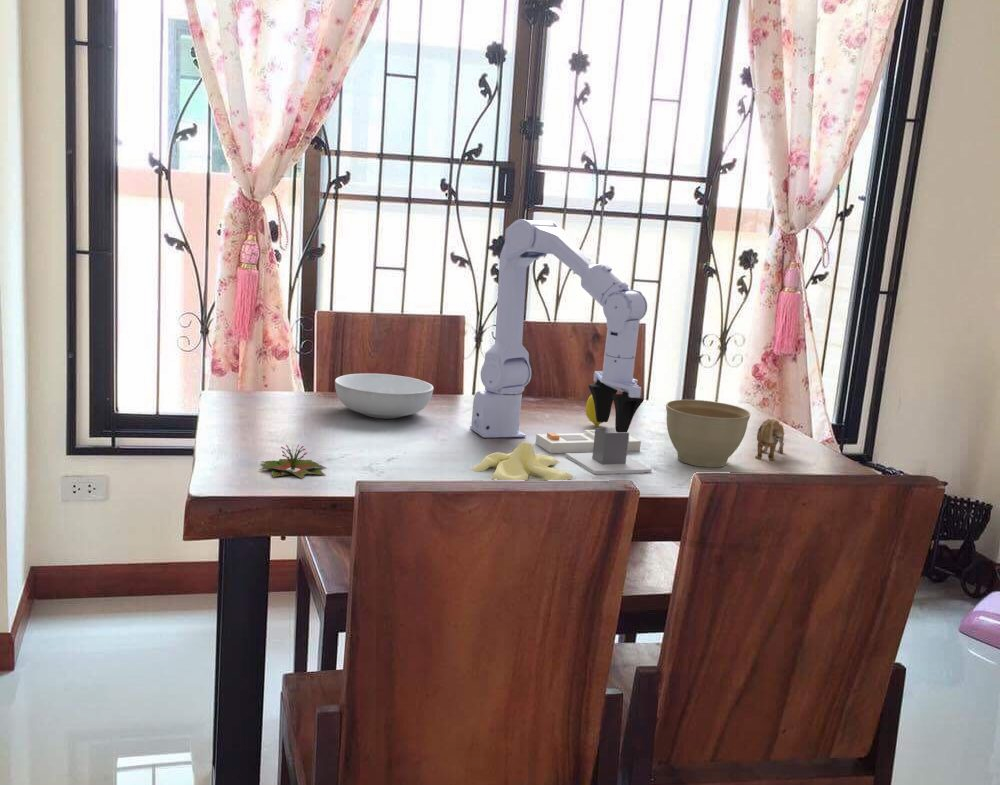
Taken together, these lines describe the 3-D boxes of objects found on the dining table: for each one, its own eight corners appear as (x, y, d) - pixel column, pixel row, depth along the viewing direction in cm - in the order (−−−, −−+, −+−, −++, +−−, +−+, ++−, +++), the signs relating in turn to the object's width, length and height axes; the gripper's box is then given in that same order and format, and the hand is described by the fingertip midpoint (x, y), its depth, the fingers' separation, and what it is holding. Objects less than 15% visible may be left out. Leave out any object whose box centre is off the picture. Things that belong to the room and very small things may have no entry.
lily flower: (318, 460, 178) (319, 435, 177) (337, 481, 167) (339, 454, 167) (249, 463, 173) (250, 437, 172) (264, 484, 162) (266, 456, 161)
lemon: (607, 430, 219) (611, 394, 217) (582, 427, 220) (586, 391, 218) (610, 424, 224) (614, 389, 223) (585, 421, 225) (589, 386, 224)
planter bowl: (685, 446, 210) (691, 395, 208) (756, 464, 200) (764, 411, 198) (644, 458, 198) (651, 404, 196) (718, 478, 188) (726, 421, 186)
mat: (594, 474, 183) (594, 471, 183) (565, 456, 194) (565, 453, 194) (651, 472, 188) (651, 469, 188) (619, 454, 199) (620, 451, 199)
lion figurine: (779, 466, 201) (785, 422, 199) (752, 462, 202) (758, 418, 201) (784, 450, 214) (790, 409, 213) (758, 446, 216) (764, 405, 214)
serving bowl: (427, 429, 206) (429, 396, 205) (325, 420, 206) (326, 387, 204) (435, 407, 226) (437, 377, 225) (342, 399, 226) (343, 369, 225)
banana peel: (546, 457, 194) (549, 426, 193) (593, 486, 178) (597, 452, 177) (438, 461, 185) (440, 428, 184) (478, 491, 169) (481, 456, 167)
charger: (602, 464, 188) (605, 433, 187) (592, 458, 192) (595, 428, 190) (626, 463, 190) (629, 432, 189) (615, 457, 194) (618, 427, 193)
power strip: (550, 453, 195) (551, 439, 195) (535, 443, 202) (536, 430, 201) (639, 450, 203) (641, 437, 203) (622, 441, 210) (624, 428, 209)
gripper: (658, 363, 182) (649, 436, 185) (619, 349, 195) (611, 417, 198) (624, 363, 179) (616, 437, 182) (587, 348, 192) (579, 417, 195)
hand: (611, 426), depth 190 cm, fingers open, 7 cm apart
